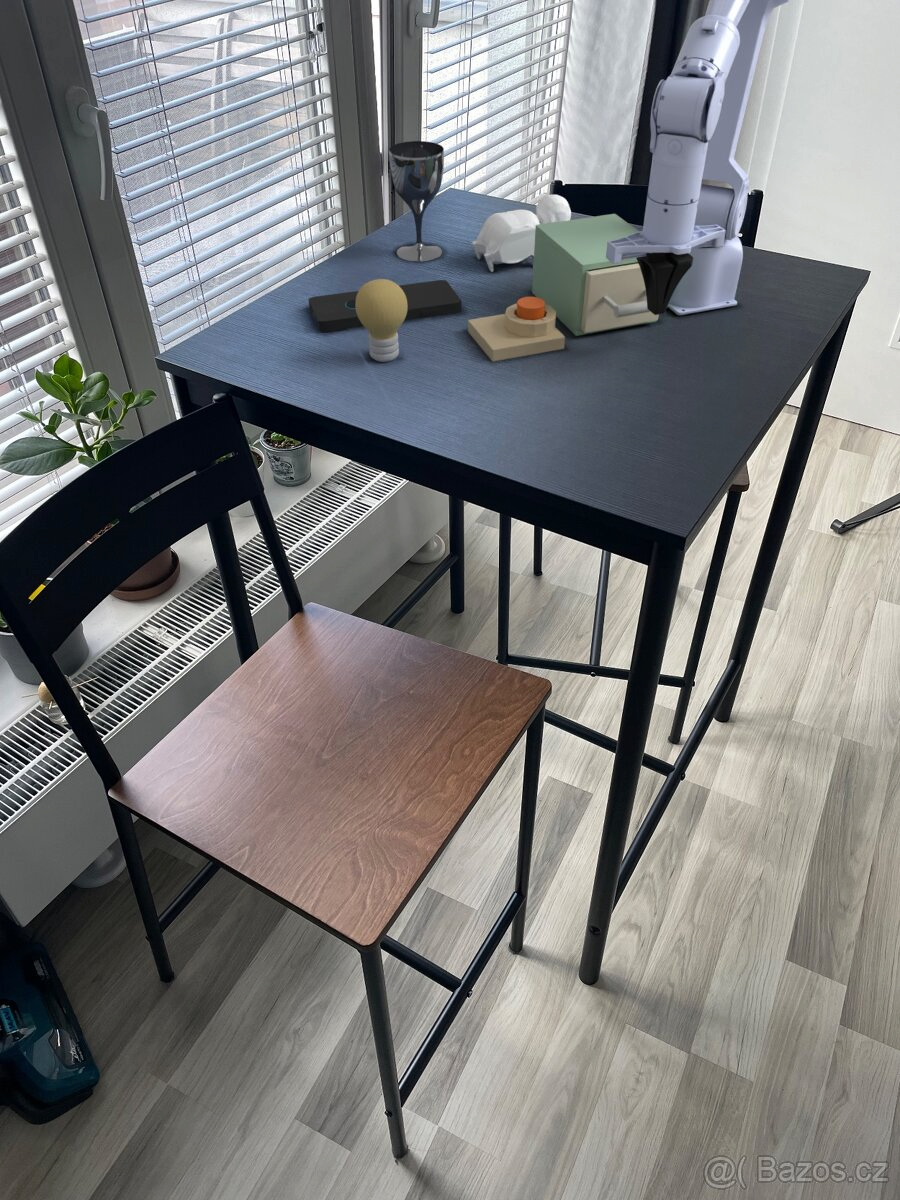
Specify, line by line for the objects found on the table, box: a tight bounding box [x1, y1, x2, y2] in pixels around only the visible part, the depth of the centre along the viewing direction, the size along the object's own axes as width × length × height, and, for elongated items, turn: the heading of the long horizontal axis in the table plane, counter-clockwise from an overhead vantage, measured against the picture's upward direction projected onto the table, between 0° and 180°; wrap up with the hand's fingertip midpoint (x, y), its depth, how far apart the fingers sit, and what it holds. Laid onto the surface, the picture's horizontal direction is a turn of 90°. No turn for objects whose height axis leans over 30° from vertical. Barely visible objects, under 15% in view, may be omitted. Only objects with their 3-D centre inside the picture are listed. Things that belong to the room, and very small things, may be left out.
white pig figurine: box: [471, 194, 572, 273], centre depth 138 cm, size 9×8×15 cm
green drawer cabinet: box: [531, 213, 658, 337], centre depth 125 cm, size 15×12×10 cm
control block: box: [467, 303, 566, 362], centre depth 120 cm, size 10×9×4 cm
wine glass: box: [388, 140, 445, 263], centre depth 138 cm, size 8×8×15 cm
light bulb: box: [355, 278, 408, 363], centre depth 114 cm, size 6×6×10 cm
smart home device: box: [308, 279, 462, 333], centre depth 127 cm, size 8×2×20 cm
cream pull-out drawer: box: [581, 262, 668, 333], centre depth 122 cm, size 18×11×8 cm, turn 20°
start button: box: [516, 296, 545, 320], centre depth 118 cm, size 4×4×2 cm
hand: (655, 310), depth 113 cm, fingers closed
